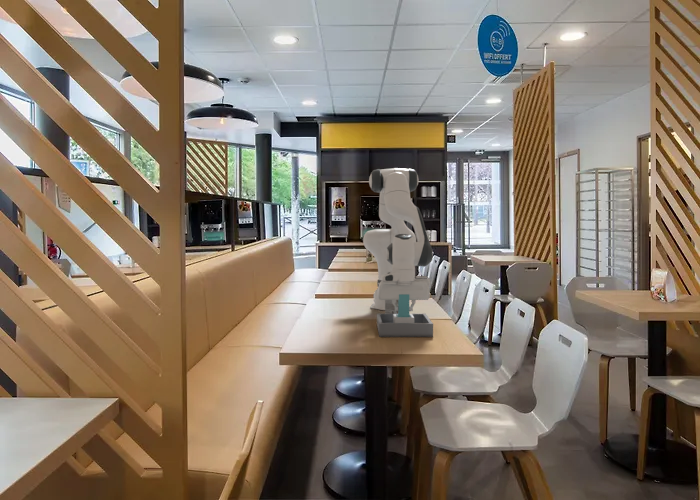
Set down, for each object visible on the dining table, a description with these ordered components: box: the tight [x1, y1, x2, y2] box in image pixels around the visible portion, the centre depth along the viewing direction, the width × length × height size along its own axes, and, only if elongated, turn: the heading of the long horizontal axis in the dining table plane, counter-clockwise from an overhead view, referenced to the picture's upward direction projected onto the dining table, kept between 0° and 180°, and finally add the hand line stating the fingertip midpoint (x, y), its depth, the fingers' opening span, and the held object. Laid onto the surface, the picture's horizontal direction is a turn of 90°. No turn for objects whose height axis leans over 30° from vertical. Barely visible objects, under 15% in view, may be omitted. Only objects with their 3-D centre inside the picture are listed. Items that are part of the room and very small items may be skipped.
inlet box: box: [376, 313, 434, 338], centre depth 192 cm, size 20×20×6 cm
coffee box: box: [384, 300, 398, 314], centre depth 213 cm, size 9×6×16 cm
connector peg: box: [398, 294, 410, 317], centre depth 192 cm, size 4×4×12 cm
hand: (403, 311), depth 192 cm, fingers closed on connector peg, 4 cm apart
